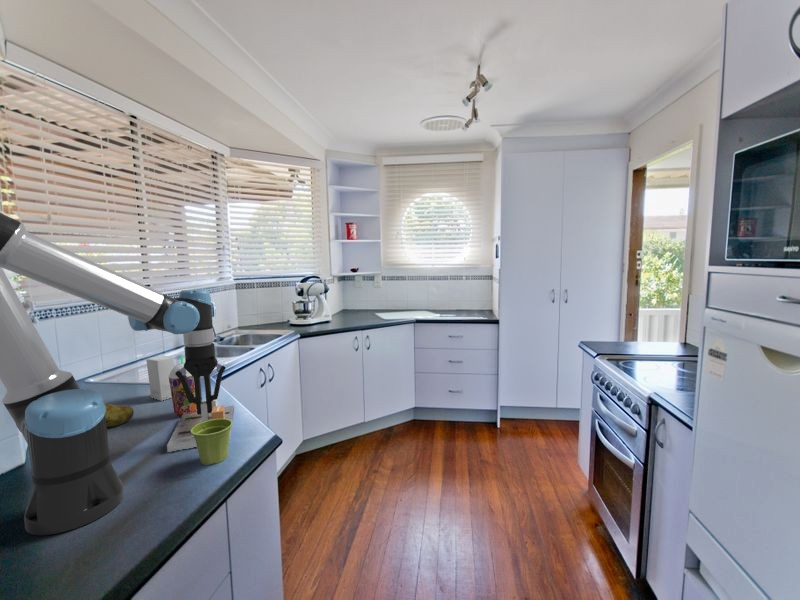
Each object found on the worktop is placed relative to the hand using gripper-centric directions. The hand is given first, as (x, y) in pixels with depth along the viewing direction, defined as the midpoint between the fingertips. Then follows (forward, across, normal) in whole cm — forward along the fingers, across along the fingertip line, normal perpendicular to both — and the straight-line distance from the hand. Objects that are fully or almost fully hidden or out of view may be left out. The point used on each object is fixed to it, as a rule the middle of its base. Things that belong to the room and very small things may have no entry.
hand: (205, 424), depth 108 cm
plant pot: (+4, -4, +16) cm, 17 cm away
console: (+3, +1, -5) cm, 6 cm away
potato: (+4, +30, -21) cm, 36 cm away
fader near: (+1, -4, 0) cm, 4 cm away
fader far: (+1, 0, -11) cm, 11 cm away
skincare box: (+4, +20, -45) cm, 49 cm away
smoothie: (+4, +8, -22) cm, 24 cm away
